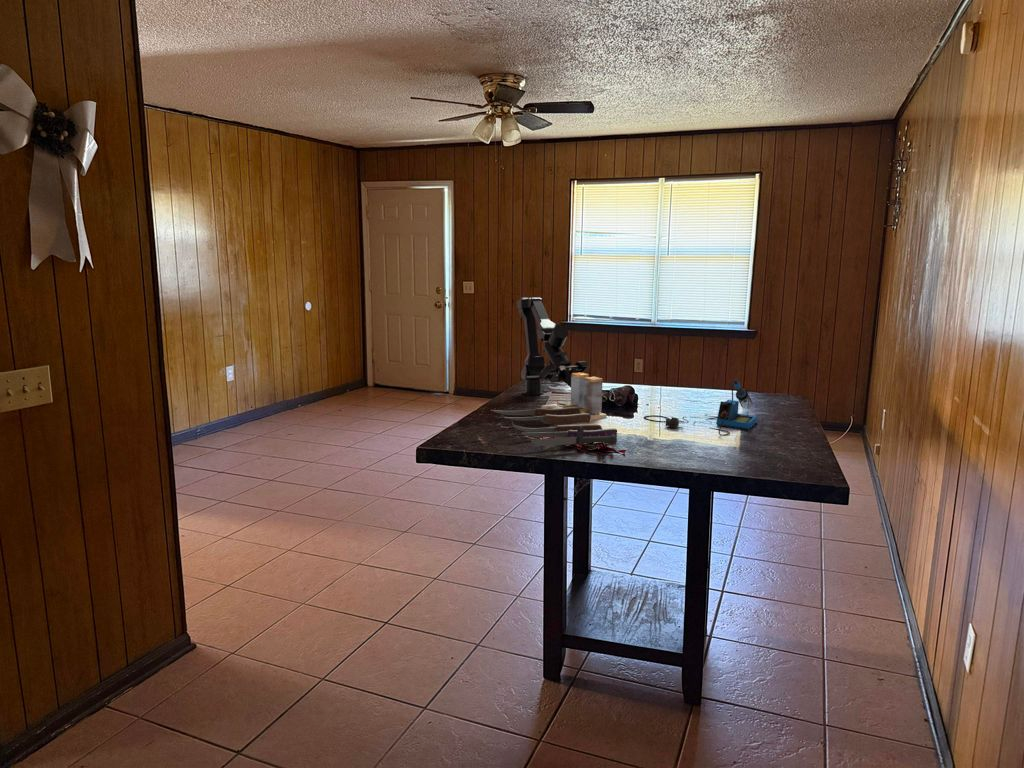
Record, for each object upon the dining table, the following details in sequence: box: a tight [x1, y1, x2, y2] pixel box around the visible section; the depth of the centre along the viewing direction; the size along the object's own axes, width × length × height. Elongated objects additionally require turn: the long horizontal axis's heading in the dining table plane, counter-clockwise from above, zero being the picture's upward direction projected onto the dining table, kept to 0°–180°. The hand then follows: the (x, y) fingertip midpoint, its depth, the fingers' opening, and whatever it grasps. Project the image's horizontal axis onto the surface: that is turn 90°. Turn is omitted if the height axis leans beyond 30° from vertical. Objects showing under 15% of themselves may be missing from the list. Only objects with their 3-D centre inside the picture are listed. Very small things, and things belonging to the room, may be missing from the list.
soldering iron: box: [643, 379, 758, 436], centre depth 239 cm, size 35×31×18 cm
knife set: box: [491, 407, 618, 447], centre depth 219 cm, size 35×33×8 cm
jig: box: [540, 376, 607, 421], centre depth 249 cm, size 23×11×14 cm, turn 35°
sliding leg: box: [562, 372, 590, 408], centre depth 248 cm, size 4×10×12 cm, turn 125°
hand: (574, 388), depth 251 cm, fingers closed, pressing on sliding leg
